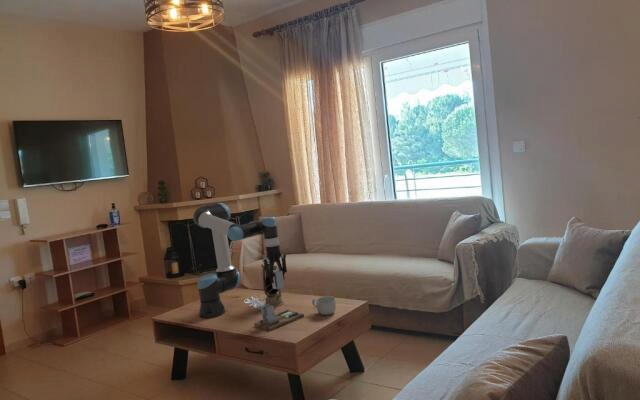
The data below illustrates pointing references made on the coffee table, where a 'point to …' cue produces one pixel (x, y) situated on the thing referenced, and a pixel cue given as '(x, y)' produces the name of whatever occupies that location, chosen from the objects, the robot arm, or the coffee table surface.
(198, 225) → the robot arm
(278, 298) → the lantern
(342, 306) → the coffee table surface
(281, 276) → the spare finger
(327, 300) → the teacup
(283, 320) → the finger rail
